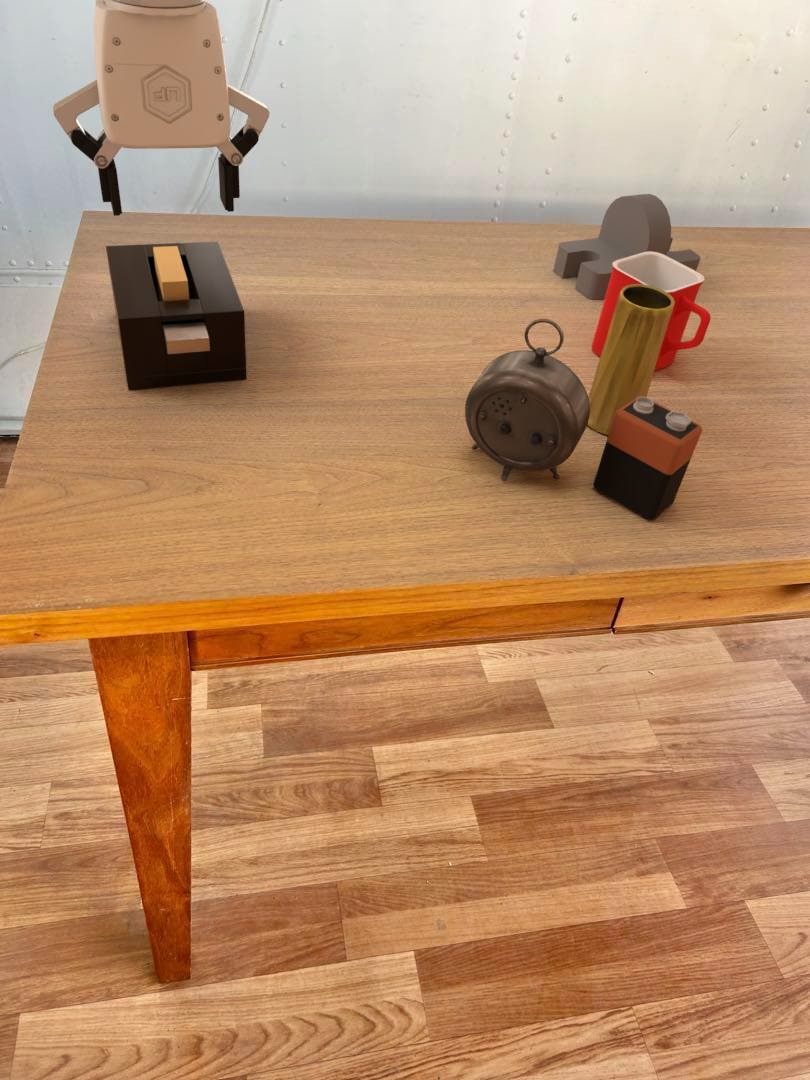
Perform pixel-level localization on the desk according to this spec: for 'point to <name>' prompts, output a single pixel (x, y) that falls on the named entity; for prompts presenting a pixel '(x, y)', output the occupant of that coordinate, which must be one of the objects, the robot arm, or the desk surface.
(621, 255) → the bracket
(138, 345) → the toaster
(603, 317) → the mug
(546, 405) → the alarm clock
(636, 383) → the vase
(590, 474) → the desk surface
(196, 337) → the lever
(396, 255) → the desk surface
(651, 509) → the battery
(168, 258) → the toast
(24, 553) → the desk surface
